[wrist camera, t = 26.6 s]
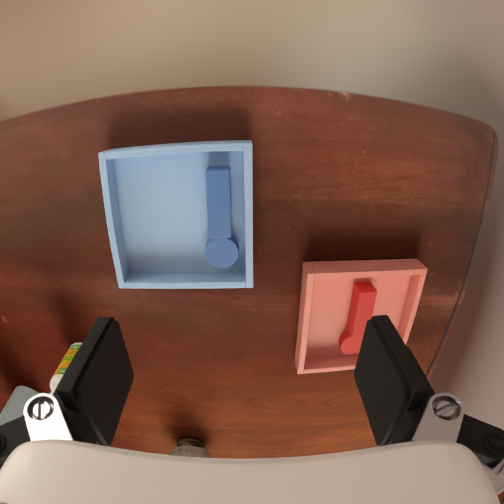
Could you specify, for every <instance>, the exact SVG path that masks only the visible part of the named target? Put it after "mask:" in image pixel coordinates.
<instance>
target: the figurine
mask: <svg viewBox="0 0 504 504" xmlns="http://www.w3.org/2000/svg"><path fill="white" fill-rule="evenodd" d="M169 455H174V456H186V457H201V458H211V455H210V454H209V453H208V451H207V450H206V449H204V448H203V443H202V442H201V441H199V440H196V439H194V438H183V439H180V440H179V441H178V442H177V447H175V448H173V449H172V450H171V451H170V452H169Z"/></svg>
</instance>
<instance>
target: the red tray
mask: <svg viewBox="0 0 504 504" xmlns="http://www.w3.org/2000/svg"><path fill="white" fill-rule="evenodd" d="M426 273H427V268H426V267H425V266H424V265H423V264H422V263H421V262H420V261H419V260H418V259H391V260H356V261H318V262H303V268H302V282H301V295H300V307H299V319H298V330H297V341H296V351H295V364H296V369H297V374H303V373H304V374H306V373H318V372H330V371H340V370H349V369H355V366H356V363H357V359H358V355H359V353H357V354H355V355H346V354H344V353H343V352H342V351H341V349H340V346H339V342H338V341H339V338H340V336H341V335H342V334H343V333H344V332H345V331H347V328H346V325H347V319H348V314H349V308H350V303H351V297H352V291H353V285H354V282H368V281H370V282H371V283H372V284H373V286H374V287H375V289H376V290H377V296H376V301H375V306H374V310H373V315H372V316H376V315H388V316H389V318H390V320H391V321H392V323H393V325H394V326H395V328H396V330H397V331H398V333H399V335H400V336H401V338H402V340H403V341H404V343H405V345H406V343H407V340H408V337H409V334H410V330H411V327H412V324H413V321H414V317H415V314H416V311H417V307H418V304H419V300H420V296H421V293H422V289H423V285H424V281H425V277H426Z"/></svg>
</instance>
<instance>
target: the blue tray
mask: <svg viewBox="0 0 504 504" xmlns="http://www.w3.org/2000/svg"><path fill="white" fill-rule="evenodd" d="M99 164H100V174H101V183H102V191H103V199H104V207H105V214H106V220H107V227H108V233H109V239H110V245H111V250H112V256H113V261H114V266H115V271H116V276H117V281H118V285H119V288H158V289H180V288H253V144H252V141H251V140H231V141H203V142H185V143H170V144H157V145H146V146H135V147H126V148H117V149H109V150H106V151H103V152H100V153H99ZM208 166H230V174H231V213H232V235H231V236H233V237H234V238H235V239H236V241H237V242H238V245H239V256H238V259H237V261H236V262H235V263H234V264H233V265H232V266H230V267H228V268H216V267H214V266H212V265H211V264H209V263H208V261H207V260H206V258H205V254H204V251H205V246H206V243H207V241H208V239H209V236H208V219H207V200H206V178H205V170H206V169H207V167H208Z"/></svg>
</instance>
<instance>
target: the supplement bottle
mask: <svg viewBox="0 0 504 504" xmlns="http://www.w3.org/2000/svg"><path fill="white" fill-rule="evenodd" d="M81 344H82V343H80V342H79V343H74V344H72V345H71V346H70V348H69V349H68V351H67V353H66V354H65V356H64V358H63V359H62V361H61V363H60V365H59V366H58V368H57V370H56V372H55V373H54V375H53V377H52V379H51V381H50V388H51V393H50V394H51V395H53V393H54V391H55V389H56V387H57V386H58V384H59V382H60V380H61V378H62V376H63V375H64V373H65V371H66V369H67V368H68V366H69V364H70V362H71V361H72V359H73V357H74V355H75V354H76V352H77V351H78V349H79V348H80V346H81Z"/></svg>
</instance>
